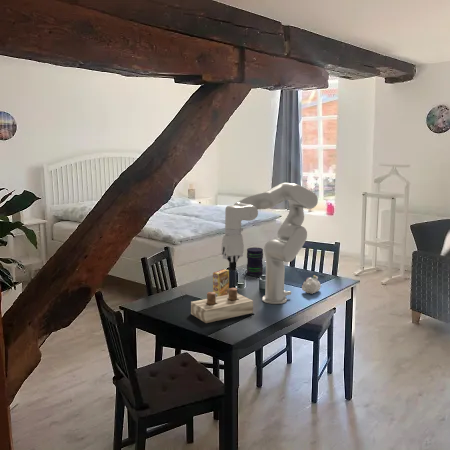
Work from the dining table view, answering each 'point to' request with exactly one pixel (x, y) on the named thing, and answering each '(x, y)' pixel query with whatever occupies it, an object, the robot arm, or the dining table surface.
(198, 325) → the dining table surface
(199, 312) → the birch block
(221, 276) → the candy box
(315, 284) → the cream lumpy bulb
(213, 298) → the peg
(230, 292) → the peg
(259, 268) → the storage jar
